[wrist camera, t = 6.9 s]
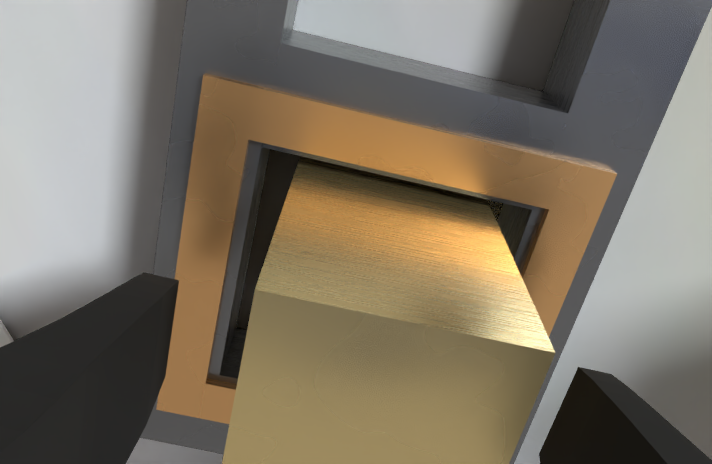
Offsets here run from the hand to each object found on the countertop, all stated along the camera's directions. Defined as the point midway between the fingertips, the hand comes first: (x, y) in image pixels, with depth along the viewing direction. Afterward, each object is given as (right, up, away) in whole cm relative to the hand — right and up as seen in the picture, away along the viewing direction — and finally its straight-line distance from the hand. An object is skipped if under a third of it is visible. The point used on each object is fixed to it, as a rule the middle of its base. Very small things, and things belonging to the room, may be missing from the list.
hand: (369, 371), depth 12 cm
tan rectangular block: (0, +2, +4) cm, 5 cm away
